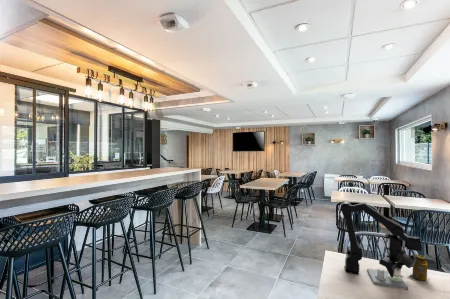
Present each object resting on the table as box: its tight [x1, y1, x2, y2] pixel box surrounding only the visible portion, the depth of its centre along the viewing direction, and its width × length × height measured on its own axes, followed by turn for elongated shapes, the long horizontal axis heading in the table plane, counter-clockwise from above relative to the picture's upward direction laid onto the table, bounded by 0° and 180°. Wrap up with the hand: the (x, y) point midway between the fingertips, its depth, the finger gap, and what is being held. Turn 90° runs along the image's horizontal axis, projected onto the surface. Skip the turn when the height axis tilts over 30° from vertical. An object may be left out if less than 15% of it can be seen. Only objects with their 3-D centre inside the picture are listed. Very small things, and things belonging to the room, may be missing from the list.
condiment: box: [407, 254, 431, 285], centre depth 126 cm, size 7×8×12 cm
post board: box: [366, 267, 409, 290], centre depth 125 cm, size 15×13×6 cm
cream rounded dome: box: [386, 268, 404, 279], centre depth 124 cm, size 7×5×3 cm
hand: (394, 275), depth 124 cm, fingers closed on cream rounded dome, 5 cm apart
